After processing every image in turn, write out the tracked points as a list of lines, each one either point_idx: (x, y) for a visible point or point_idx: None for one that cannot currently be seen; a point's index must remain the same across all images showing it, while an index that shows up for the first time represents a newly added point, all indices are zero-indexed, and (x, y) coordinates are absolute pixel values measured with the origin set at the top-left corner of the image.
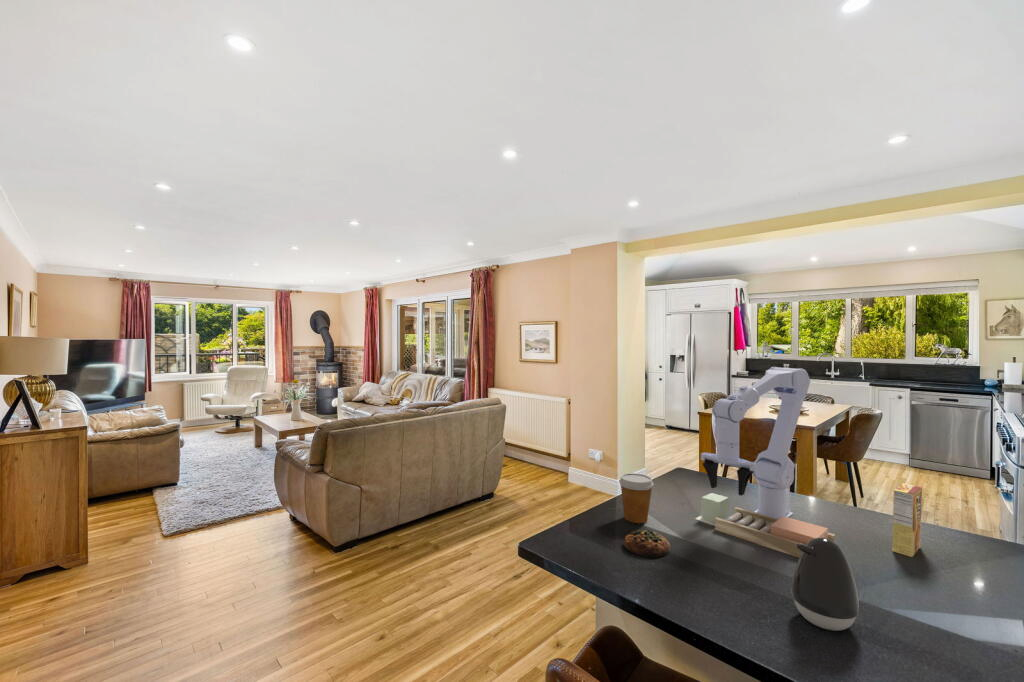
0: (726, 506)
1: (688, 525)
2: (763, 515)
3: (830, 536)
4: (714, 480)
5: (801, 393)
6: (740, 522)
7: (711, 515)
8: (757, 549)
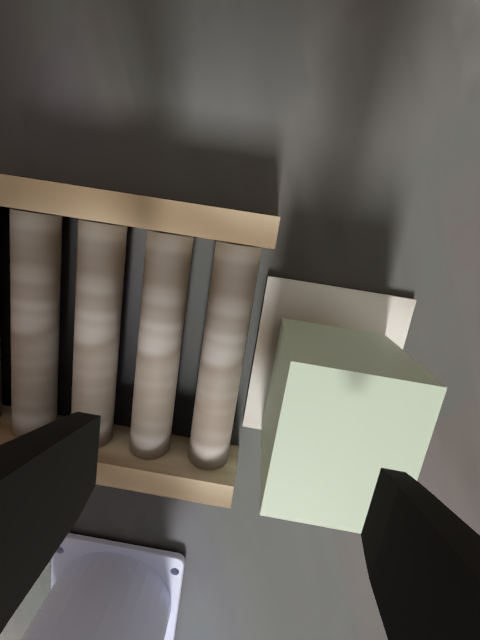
0: (265, 446)
1: (428, 184)
2: None
3: None
4: (408, 572)
5: None
6: (151, 307)
7: (331, 334)
8: (29, 111)
